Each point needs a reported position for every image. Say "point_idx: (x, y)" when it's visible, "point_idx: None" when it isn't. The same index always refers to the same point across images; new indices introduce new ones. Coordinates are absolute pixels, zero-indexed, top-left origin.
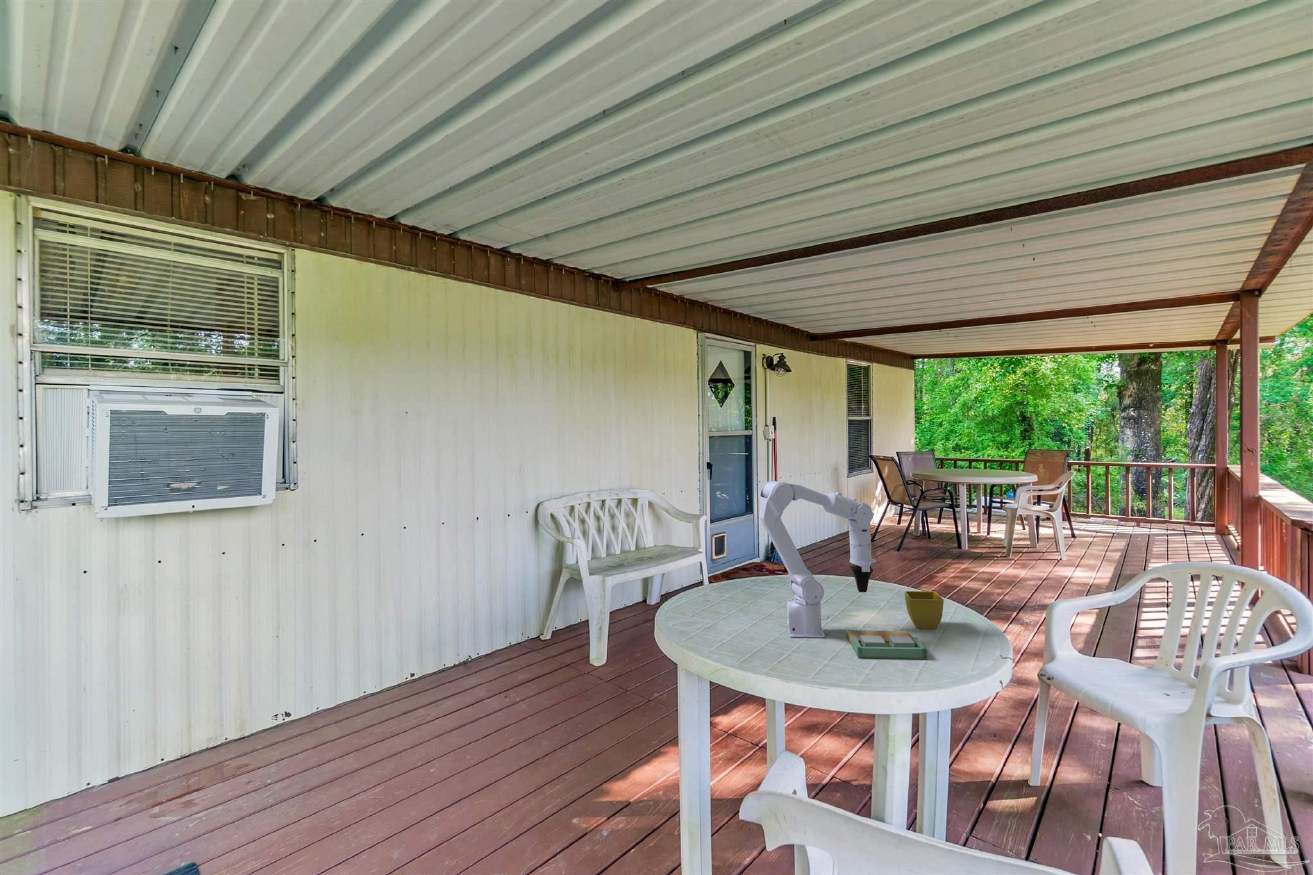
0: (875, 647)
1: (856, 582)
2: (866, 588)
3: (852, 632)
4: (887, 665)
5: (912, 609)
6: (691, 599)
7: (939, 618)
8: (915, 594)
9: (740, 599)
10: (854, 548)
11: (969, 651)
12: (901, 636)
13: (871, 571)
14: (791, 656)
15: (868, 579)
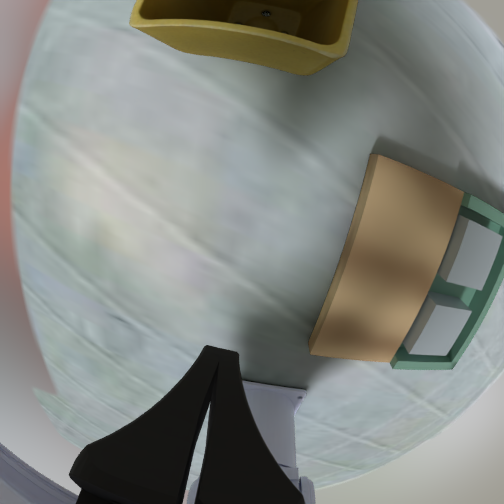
0: (469, 336)
1: (199, 431)
2: (240, 372)
3: (336, 345)
4: (488, 314)
5: (322, 68)
6: (70, 439)
7: None
8: None
9: (45, 398)
10: None
11: (487, 78)
12: (464, 245)
13: (302, 501)
14: (374, 436)
15: (258, 430)
